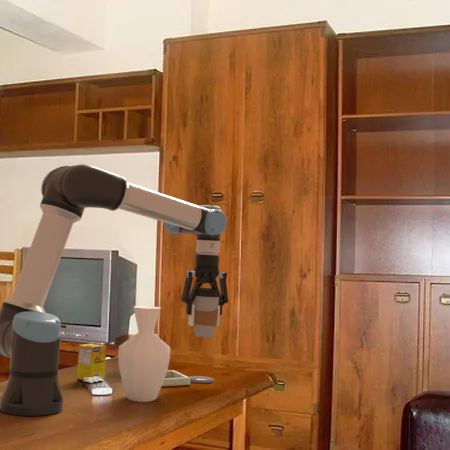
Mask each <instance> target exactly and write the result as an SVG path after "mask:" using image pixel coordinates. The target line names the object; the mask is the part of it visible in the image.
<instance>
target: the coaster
mask: <svg viewBox="0 0 450 450" xmlns="http://www.w3.org/2000/svg"><path fill="white" fill-rule="evenodd" d="M188 377H189V378H190V383H192V382H193V384H204V385H205V384H212V383H215V378H214V377H211V376H204V375H203V376H202V375H192V376H191V375H190V376H188Z"/></svg>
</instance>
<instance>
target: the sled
mask: <svg viewBox="0 0 450 450" xmlns="http://www.w3.org/2000/svg"><path fill="white" fill-rule="evenodd" d="M135 334H136V333H130V334H129V339H130V338H131V337H132V336H134V335H135ZM154 334H155V335H157V336H158V337H159V334H157V333H154ZM189 377H190V376H187V375H185V374H183V373H181V372H179V371H177V370H173V369H172V370H171V369H170V370H169V369H167V372H166V375H165V378H164V381H163V384H162V386H161V387H167V386H185V385H187V386H188V385H191V382H190V378H189Z"/></svg>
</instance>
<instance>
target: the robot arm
mask: <svg viewBox="0 0 450 450" xmlns="http://www.w3.org/2000/svg"><path fill="white" fill-rule="evenodd" d="M40 191H41V194H42V195H41V196H42V199H41V201H40V203H39V207H40V209H41V212H42V215H41V218H40V221H39V223H38V225H37V229H36V231H35V234H34V237H33V239H32V242H31V245H30V247H29V249H28V252H27V255H26V258H25V260H24V263H23V265H22V269H21V270H20V274H19V277H18V279H17V282H16V285H15V287H14V290H13V293H12V295H11V296H10V297H9V298H7V299H5V300H3V303H2V305H1V307H0V355H1V356H2V357H6V358H9V359H10V360H9V361H10V363H9V378H8V380H7V382H6V385H5V387H4V390H3V392H2V395H1V398H0V411H1V412H2V413H5V414H8V415H15V416H23V417H26V416H27V417H32V416H33V417H35V416H36V417H38V416H47V415H53V414H54V415H55V414H57V413H60V412H62V411H63V409H64V397H63V395H62V394H63V393H62V390H61V385H60V382H59V379H58V378H59V365H60V364H59V362H60V351H61V350H60V348H61V337H62V328H61V327H62V325H61V320H60V318H59V317H57V316H56V315H54V314H52V313H47V312H46V310H45V308H44V305H45V302H46V300H47V297H48V293H49V291H50V289H51V285H52V283H53V280H54V277H55V275H56V272H57V269H58V267H59V263H60V262H61V257H62V255H63V252H64V250H65V247H66V244H67V241H68V239H69V237H70V233H71V230H72V228H73V226H74V224H75V223H77V222H80V221H81V219H82V217H83V214H84V211H85V209H87V208H91V209H92V208H93V209H94V208H95V209H96V208H97V209H98V208H99V209H105V210H108V211H112V212H113V211H116V210H122V211H125V212H130V213H131V214H135V215H138V216H143V217H146V218H149V219H153V220H156V221H160V222H162V223H163V225H164V229H165V230H166V231H167V232H168V233H169V234H170V233H171V234H175V235H176V234H179V235H180V234H181V235H196V245H195V246H196V247H195V252H196V253H197V254H195V264H194V266H195V268H194V270H191V271H190V270H186V271H185V281H184V287H183V289H182V290H183V291H182V294H181V300H180V301H181V303H184V304H185V305H186V309H185V310H186V313H185V314H186V315H187V316H188V319H187V321H188V322H187V325H188V326H191V327H194V313H195V305H194V300H195V298H196V296H195V295H196V292H197V289H200V288H202V286H203V284H209V286H210V288H212V289H214V290H216V289H220V290H219V293H220V294H219V295H220V297H219V302H218V312H217V320H216V327H219V326H220V316H222V315H223V306H225V304H228V303H229V293H228V286H227V277H228V273H227V272H223V271H222V272H221V271H220V270H219V266H220V256H219V255H218V254H220V252H221V251H220V250H221V249H220V248H221V247H220V246H221V234H223V232H225V231H226V228H227V224H228V219H227V215H226V214H225V212H223V211H222V208H221V207H220V206H217V205H204V204H203V205H197V204H194V203H191V202H188V201H186V200H183V199H179V198H176V197H173V196H170V195H167V194H164V193H160V192H158V191H155V190H153V189H148V188H146V187H143V186H140V185H137V184H134V183H131V182H128V181H127V179H126V178H125V177H124V176H122V175H118V174H116V173H113V172H110V171H108V170H106V169H105V170H104V169H103V168H99V167H97V166H94V165H91V164H86V163H85V164H82V163H81V164H76V165H63V166H59V167H56V168H54V169H52V170H50V171H48V173H47V174H46V176H45V177H44V178H43V180H42V183H41V187H40ZM194 277H195V278H196V279H195V280H194V285H193V278H194ZM217 278H218V279H219V286H218V282H217ZM192 285H193V287H192ZM191 287H192V288H191Z"/></svg>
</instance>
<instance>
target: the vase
mask: <svg viewBox="0 0 450 450" xmlns="http://www.w3.org/2000/svg"><path fill="white" fill-rule="evenodd" d="M132 308H133V310H134V311H133V312H134V316H135V321H136V326H137V327H136V328H137V331H138V332H136V333H134V334H135V335H134V336H132V337H131V338H130V337H129V338H128V339H127V340H126V341H124V342H122V344H120V345H118V355H117V359H118V360H117V361H118V370H119V374H120V379H121V383H122V387H123V390H124V394H125V397H126V398H127V400H129V401H132V402H136V401H137V402H140V403H141V402H143V403H144V402H146V403H147V402H152V401H156V399H158V396H159V393H160V390H161V389H162V387H163V386H162V384H163V381H164V378H166V377H165V375H166V372H167V370H169V364H170V359H171V346H169V345H168V344H167V343H166V342H165V341H164V340H162V338H160V337H159V335H158V336H157V335H155V334H156V333H154V330H155V327H156V325H157V321H158V319H159V315H160V312H161V309H162V307H160V306H153V305H152V306H151V305H150V306H149V305H135V306H133V307H132Z"/></svg>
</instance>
